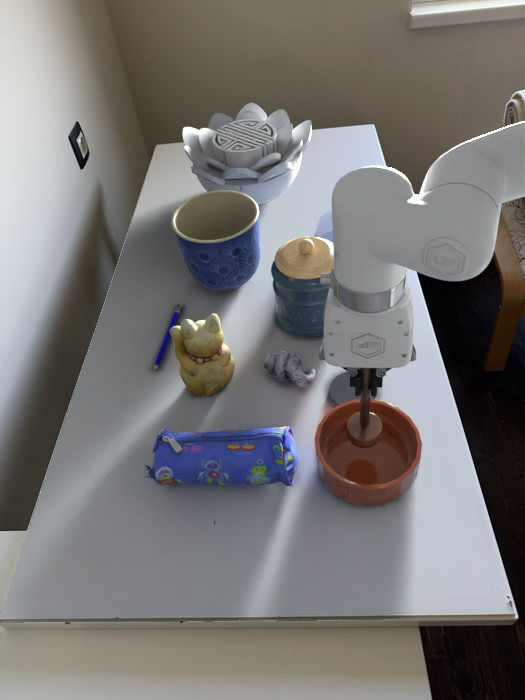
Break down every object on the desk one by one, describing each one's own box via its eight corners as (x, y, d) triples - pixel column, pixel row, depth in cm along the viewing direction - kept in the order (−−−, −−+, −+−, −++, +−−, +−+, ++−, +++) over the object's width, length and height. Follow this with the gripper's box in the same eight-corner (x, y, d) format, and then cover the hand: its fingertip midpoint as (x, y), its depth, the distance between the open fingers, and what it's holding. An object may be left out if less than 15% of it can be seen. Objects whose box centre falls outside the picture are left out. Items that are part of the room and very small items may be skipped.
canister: (286, 345, 103) (278, 273, 90) (269, 300, 112) (260, 227, 99) (353, 329, 104) (355, 254, 91) (331, 285, 113) (330, 211, 100)
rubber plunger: (389, 434, 81) (395, 360, 69) (364, 454, 79) (366, 382, 67) (364, 413, 84) (366, 339, 72) (339, 432, 82) (337, 360, 70)
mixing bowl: (438, 466, 84) (444, 444, 79) (366, 529, 79) (367, 510, 74) (365, 405, 93) (367, 382, 88) (296, 458, 87) (293, 437, 83)
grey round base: (387, 392, 94) (387, 390, 93) (352, 419, 91) (352, 417, 91) (353, 366, 98) (353, 363, 98) (319, 390, 96) (319, 388, 95)
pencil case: (154, 496, 85) (137, 464, 78) (163, 447, 91) (148, 414, 84) (298, 497, 83) (294, 464, 76) (298, 447, 89) (295, 412, 81)
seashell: (316, 387, 98) (265, 372, 101) (322, 358, 96) (270, 343, 100) (305, 394, 93) (252, 377, 97) (311, 363, 92) (257, 348, 95)
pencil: (178, 307, 113) (176, 303, 112) (182, 307, 113) (181, 304, 112) (152, 372, 102) (151, 368, 101) (157, 372, 102) (156, 369, 101)
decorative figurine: (231, 359, 102) (218, 299, 91) (244, 392, 97) (232, 333, 86) (180, 375, 101) (160, 317, 90) (191, 410, 96) (172, 352, 84)
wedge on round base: (320, 229, 125) (308, 266, 117) (319, 203, 120) (307, 241, 112) (360, 232, 123) (351, 270, 115) (361, 206, 118) (352, 244, 110)
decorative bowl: (164, 203, 138) (148, 147, 127) (244, 150, 152) (236, 95, 141) (254, 246, 124) (246, 187, 112) (334, 182, 137) (334, 124, 126)
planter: (283, 270, 117) (277, 209, 106) (223, 315, 110) (210, 254, 99) (228, 240, 126) (218, 180, 115) (170, 279, 119) (153, 219, 108)
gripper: (293, 307, 59) (304, 409, 72) (448, 307, 56) (429, 413, 70) (299, 261, 64) (308, 365, 77) (441, 259, 61) (425, 367, 75)
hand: (365, 387), depth 73 cm, fingers closed on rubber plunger, 1 cm apart
